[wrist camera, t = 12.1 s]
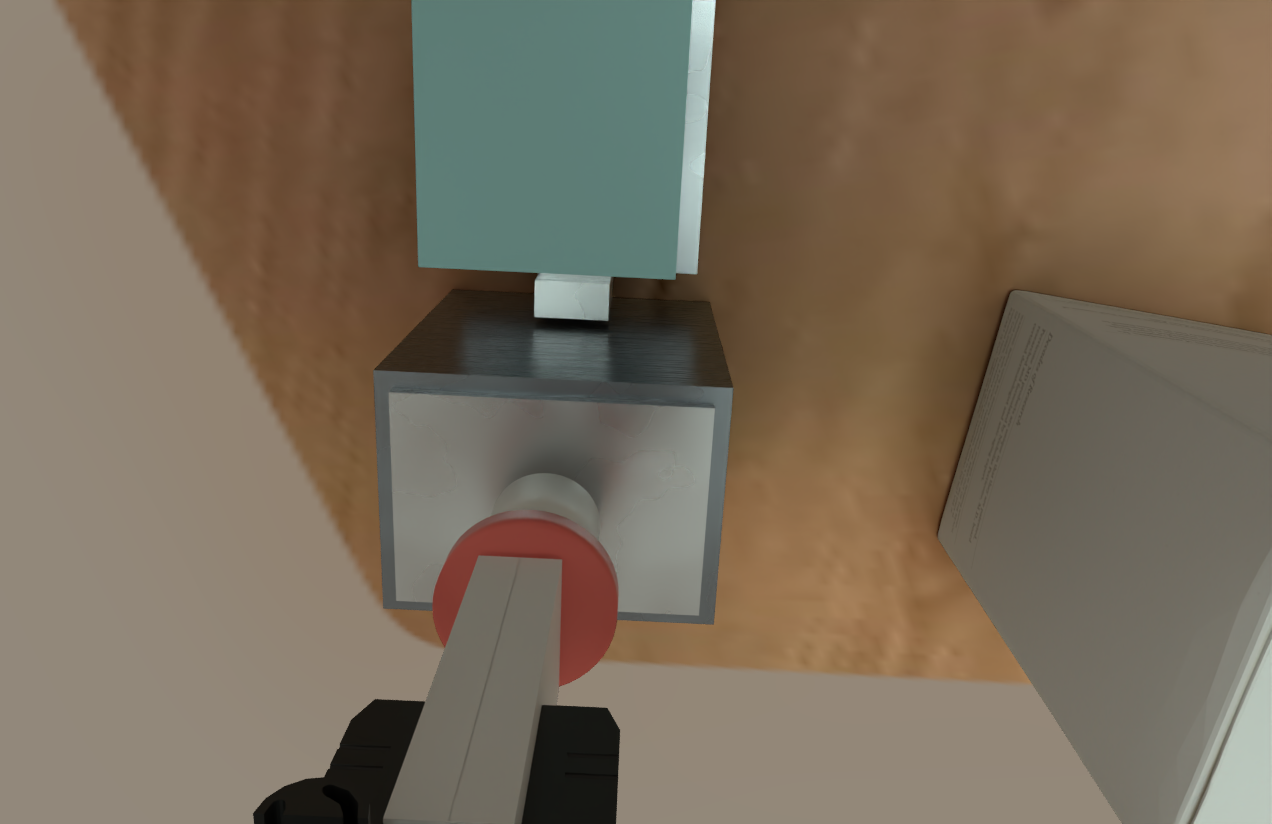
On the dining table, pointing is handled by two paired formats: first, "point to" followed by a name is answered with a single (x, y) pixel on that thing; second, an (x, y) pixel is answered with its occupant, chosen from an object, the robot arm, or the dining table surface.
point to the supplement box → (1130, 546)
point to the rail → (595, 292)
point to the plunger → (550, 529)
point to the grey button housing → (559, 439)
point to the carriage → (550, 134)
